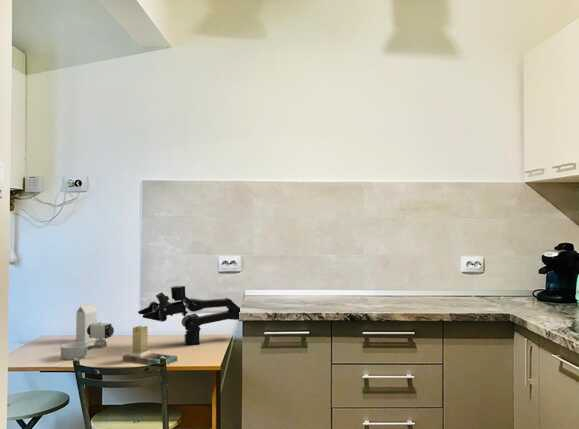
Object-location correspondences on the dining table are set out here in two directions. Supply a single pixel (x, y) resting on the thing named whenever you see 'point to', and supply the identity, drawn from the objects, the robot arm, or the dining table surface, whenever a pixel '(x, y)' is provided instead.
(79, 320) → the milk carton
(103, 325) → the pneumatic valve
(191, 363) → the dining table surface
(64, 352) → the saucepan
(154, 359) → the divided tray
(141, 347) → the brass clip
